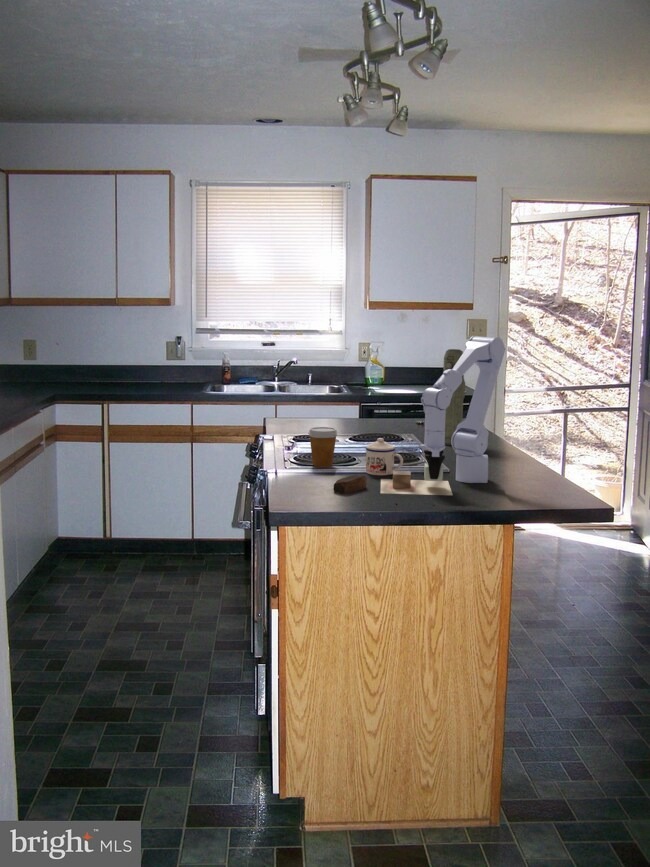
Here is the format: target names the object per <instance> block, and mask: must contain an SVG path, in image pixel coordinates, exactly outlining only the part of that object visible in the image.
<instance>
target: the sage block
mask: <svg viewBox="0 0 650 867" xmlns="http://www.w3.org/2000/svg"><path fill="white" fill-rule="evenodd" d="M423 474H424V476H423V478H424V480H425V481H444V480H443V478H444V465H443V463H442V464H441V468H440V472H439V476H438V479H430V475H429V467H428V463H426V462H425V463H424V472H423Z"/></svg>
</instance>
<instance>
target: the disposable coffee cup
mask: <svg viewBox="0 0 650 867" xmlns="http://www.w3.org/2000/svg"><path fill="white" fill-rule="evenodd" d="M338 434H339V433H338V432H337V428H335V427H327V426H316V427H311V428H309V431H308V436H309V441H310V449H311V452H310V453H311V459H312V461H311V462H312V466H313V465H314V466H313V467H317V468H331V467H333V463H334V462H333V461H334V455H335V448H336V441H337V436H338Z"/></svg>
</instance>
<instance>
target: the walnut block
mask: <svg viewBox="0 0 650 867" xmlns="http://www.w3.org/2000/svg"><path fill="white" fill-rule="evenodd" d="M411 473H412V472H411V470H394V471H393V474H392V479H393V488H408V489H410V486H411V480H412V479H411V477H412V474H411Z"/></svg>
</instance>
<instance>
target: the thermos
mask: <svg viewBox="0 0 650 867" xmlns="http://www.w3.org/2000/svg"><path fill="white" fill-rule="evenodd" d="M463 353H464V351H463V350H462V349H458V348H457V349H456V348H455V349H454V348H452V349H447V350H446V351H445V352H444V356H443V367H442V368H443V372H444V371H445V370H448V369H453V367H454V366H455V364H456V363H457V361H458V360H459V359H460V357H461V356H462V354H463ZM465 392H466V381H465V374H464V375H463V376H462V383H461V384H460V385H459V387H458V388H457V389H456V390H455V391H454V393H453V395H452V398H451V402H450V405H449V406H448V407H447V408H446V414H445V446H452V445H451V439H452V436H453V434H454V432H455V431H456V429H457V425H458V424H460V423H461V422H463V417H464V416H463V414H464V413H463V411H464V399H465V395H466V393H465Z"/></svg>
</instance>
